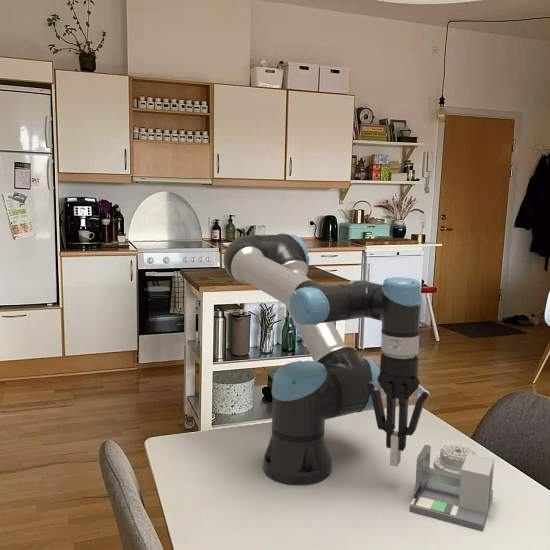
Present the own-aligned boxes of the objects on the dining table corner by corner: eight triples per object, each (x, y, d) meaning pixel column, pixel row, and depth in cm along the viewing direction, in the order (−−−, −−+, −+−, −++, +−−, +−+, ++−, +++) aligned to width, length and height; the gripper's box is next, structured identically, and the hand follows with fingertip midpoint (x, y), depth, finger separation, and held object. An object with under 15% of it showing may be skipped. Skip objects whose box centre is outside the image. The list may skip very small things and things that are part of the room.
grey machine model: (411, 498, 110) (412, 464, 109) (423, 475, 119) (425, 444, 118) (467, 513, 105) (469, 478, 104) (475, 488, 114) (478, 455, 113)
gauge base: (409, 511, 109) (411, 467, 108) (426, 479, 121) (428, 440, 120) (482, 531, 103) (486, 485, 101) (492, 495, 115) (495, 454, 114)
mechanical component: (435, 477, 123) (483, 482, 121) (436, 458, 122) (485, 463, 120) (432, 457, 132) (476, 461, 130) (433, 439, 132) (477, 443, 130)
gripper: (362, 353, 114) (359, 463, 117) (427, 362, 108) (422, 478, 111) (374, 345, 121) (370, 449, 124) (435, 353, 115) (430, 463, 118)
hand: (395, 463), depth 118 cm, fingers closed
